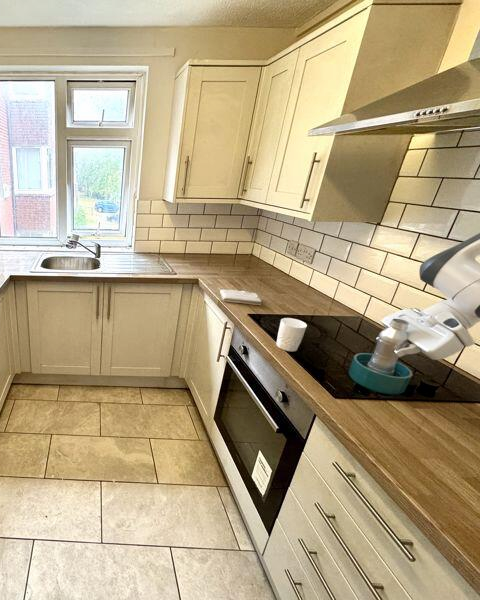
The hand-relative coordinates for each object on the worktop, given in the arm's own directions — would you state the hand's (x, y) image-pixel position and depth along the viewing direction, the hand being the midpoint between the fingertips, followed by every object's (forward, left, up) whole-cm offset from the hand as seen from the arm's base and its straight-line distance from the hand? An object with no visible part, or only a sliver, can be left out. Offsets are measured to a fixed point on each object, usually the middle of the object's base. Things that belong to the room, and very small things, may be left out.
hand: (386, 347), depth 93 cm
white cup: (+20, -14, -12) cm, 28 cm away
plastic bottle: (-1, 0, -11) cm, 12 cm away
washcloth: (+32, -58, -12) cm, 68 cm away
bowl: (-1, 0, -12) cm, 12 cm away
